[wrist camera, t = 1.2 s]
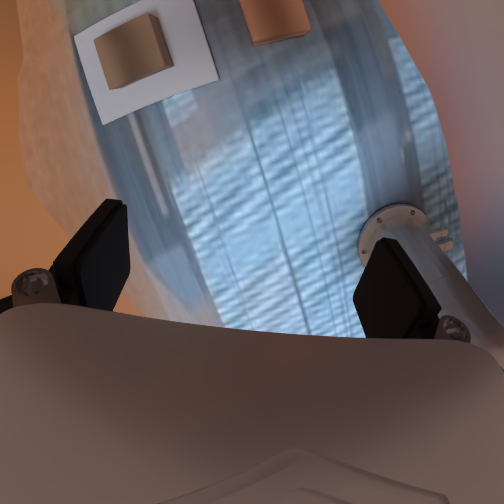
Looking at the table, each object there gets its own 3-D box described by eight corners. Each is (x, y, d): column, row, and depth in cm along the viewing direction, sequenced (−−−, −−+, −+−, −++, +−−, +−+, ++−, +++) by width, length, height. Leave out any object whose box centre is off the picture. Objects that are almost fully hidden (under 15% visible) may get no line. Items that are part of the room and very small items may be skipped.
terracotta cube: (289, -6, 26) (295, -20, 21) (302, 36, 29) (311, 29, 24) (240, 4, 27) (237, -8, 22) (253, 46, 30) (253, 40, 25)
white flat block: (188, -16, 25) (179, -27, 21) (219, 79, 32) (214, 80, 28) (77, 37, 27) (57, 35, 23) (106, 123, 35) (88, 131, 30)
